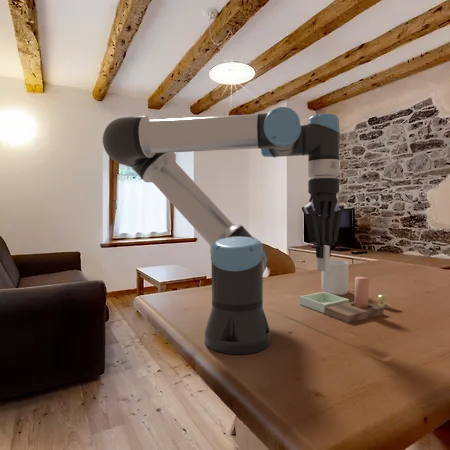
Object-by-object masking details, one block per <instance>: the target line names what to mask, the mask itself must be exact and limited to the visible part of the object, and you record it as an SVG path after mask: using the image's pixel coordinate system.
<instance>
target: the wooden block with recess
mask: <svg viewBox="0 0 450 450" xmlns="http://www.w3.org/2000/svg"><path fill="white" fill-rule="evenodd" d="M384 310H385V309H384V307H381V306H378V304H377V305H376V304H374V303H371V302H368V308H366V309H361V308H358V307H355V306H354V300H353V301H349V302H348V303H344V304H339V305H334V306H329V307H325V314H324V315H326V316H329V317H331V318H334V319H336V320H339V321H342V322H344V323H346V324H350V323H354V322H358V321H363V320H367V319H371V318H374V317H378V316H382V315H384Z"/></svg>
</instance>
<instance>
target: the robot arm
mask: <svg viewBox="0 0 450 450" xmlns="http://www.w3.org/2000/svg"><path fill="white" fill-rule="evenodd" d="M340 136H341V132H340V120H339V117H338V116H337V115H336V114H334V113H319V114H315V115H311V116H310V117H309V118H308V121H307V124H303V125H302V124H301V120H300V117H299V115H298V113H297V112H296V111H295V110H293V108H290V107H287V106H280V107H278V106H277V107H276V108H274V109H272V110H271V111H269V112H264V113H252V114H251V113H250V114H236V115H235V114H234V115H221V116H220V115H218V116H201V117H182V118H165V119H152V118H151V117H149V116H148V115H140V116H135V115H134V116H125V117H123V116H122V117H119V118H116V119H114V120H112V121H111V122H109V124H108V125H106V127H105V129H104V131H103V135H102V146H103V149H104V151H105V153H106V154H107V156H109V157H108V158H110V159H111V160H112V161H114V162H116V163H117V164H119V165H123V166H127V167H130V168H131V169H132V170H133V171H134V172H135V173H136V174H137V175H138V176H139V177H140V179H142V181H144V182H145V183H152V184H153V185H154V186H155V187H156V188H157V189H158V191H160V192H161V193H162V195H163V196H164V197H165V198H166V199H167V200H168V201H169V203H171V205H173V207H174V208H175V209H176V210H177V211H178V212H179V213H180V214H181V215H182V217H184V219H186V221H187V222H188V223H189V224H190V225H191V226H192V227H193V229H195V231H196V232H197V233H198V234H199V236H201V238H203V240H204V241H205V242H206V243H207V244H208V245H209V248H210V250H209V254H210V260H211V261H210V263H211V306H212V307H211V309H210V310H211V311H210V312H209V316H208V319H207V323H206V326H205V329H204V343H205V345H206V346H207V347H208V348H209V349H211V350H212V351H216V352H217V353H222V354H227V355H228V354H229V355H248V354H255V353H259V352H260V351H263V350H265V349H266V348H268V346H270V344H271V328H270V326H269V323H268V321H267V316H266V314H265V311H264V307H263V305H264V303H263V301H264V297H263V295H264V294H263V292H264V290H263V289H264V288H263V286H264V285H263V283H264V281H263V278H264V276H263V275H264V272H265V270H266V268H267V266H268V257H269V256H268V253H267V249H266V247H265V245H264V244H263V242H262V241H260V240H259V239H258V238H256V237H253V235H252V234H250V232H249V231H248V230H247V229H246V228H245V227H244V225H242V224H235V223H233V222H232V221H231V220H230V219H229V218H228V216H226V215H225V213H223V211H221V209H220V208H219V207H218V206H217V205H216V204H215V203H214V202H213V200H212V199H211V198H210V197H209V196H208V195H207V194H205V192H204V191H203V190H202V189H201V187H199V185H197V183H196V182H195V181H194V180H193V179H192V178H191V177H190V176H189V175H188V174H187V173H186V171H184V169H183V168H182V167H181V166H180V165H179V164H178V162H176V161H177V160H176V159H177V157H176V156H177V154H176V153H190V152H210V151H231V150H232V151H234V150H235V151H236V150H252V149H253V150H254V149H256V150H257V149H260V152H261V155H262V157H266V158H275V159H276V158H279V157H280V158H281V157H294V156H296V157H297V156H304V157H305V156H308V159H307V162H308V168H307V169H308V172H307V173H308V174H307V177H308V178H309V180H308V183H307V184H308V185H307V186H308V189H307V190H308V194H309V195H310V197H309V200H308V204H306V205H302V206H301V210H302V212H303V214H304V219H305V224H306V229H307V236H308V239H309V243H310V244H312V245H314V246H315V257H316V259H317V262H316V263H317V264H316V265H317V267H316V269H317V271H321V272H322V271H324V272H327V271H329V267H330V260H331V253H332V252H331V250H332V246H335V244H336V242H338V237H339V231H340V226H341V220H342V215H343V212H344V210H345V206H344V205H340V204H339V203H338V201H339V200H338V197H337V194H338V193H339V192H340V179H339V178H338V177H339V176H340V141H341V140H340Z"/></svg>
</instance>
